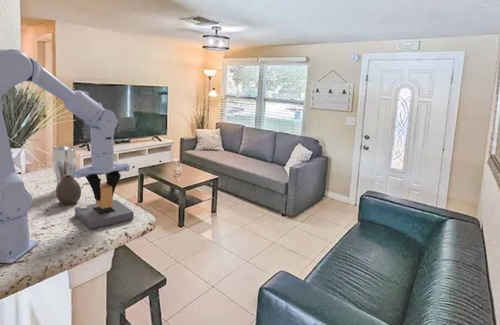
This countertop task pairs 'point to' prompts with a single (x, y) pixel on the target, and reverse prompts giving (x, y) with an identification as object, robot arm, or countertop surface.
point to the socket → (103, 215)
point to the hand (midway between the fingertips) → (103, 198)
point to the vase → (68, 190)
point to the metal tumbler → (64, 161)
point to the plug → (105, 196)
